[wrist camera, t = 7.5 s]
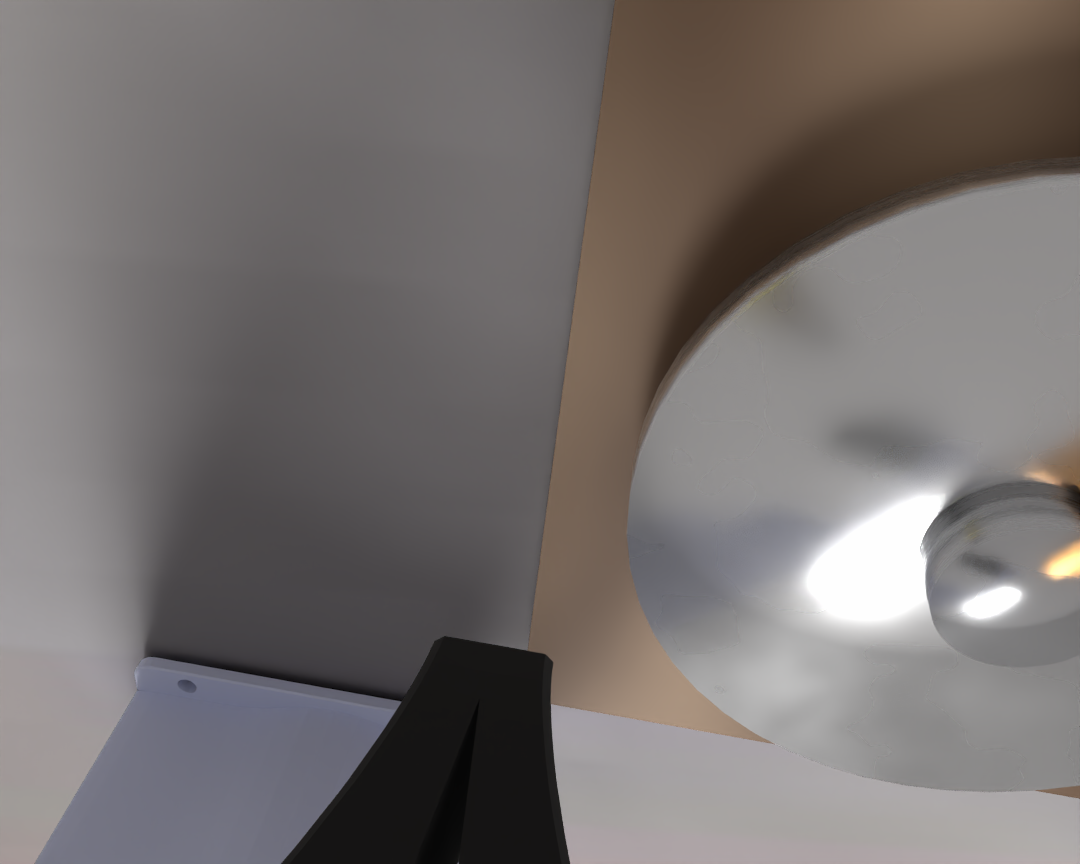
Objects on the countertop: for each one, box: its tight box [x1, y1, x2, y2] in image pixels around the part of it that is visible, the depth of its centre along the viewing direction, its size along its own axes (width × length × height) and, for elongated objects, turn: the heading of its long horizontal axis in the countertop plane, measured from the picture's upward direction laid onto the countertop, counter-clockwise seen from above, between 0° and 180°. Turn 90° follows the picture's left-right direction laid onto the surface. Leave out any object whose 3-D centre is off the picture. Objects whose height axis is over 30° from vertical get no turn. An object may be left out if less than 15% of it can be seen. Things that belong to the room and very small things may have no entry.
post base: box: [528, 0, 1080, 799], centre depth 18 cm, size 16×17×6 cm
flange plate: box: [627, 157, 1080, 792], centre depth 16 cm, size 13×13×4 cm
